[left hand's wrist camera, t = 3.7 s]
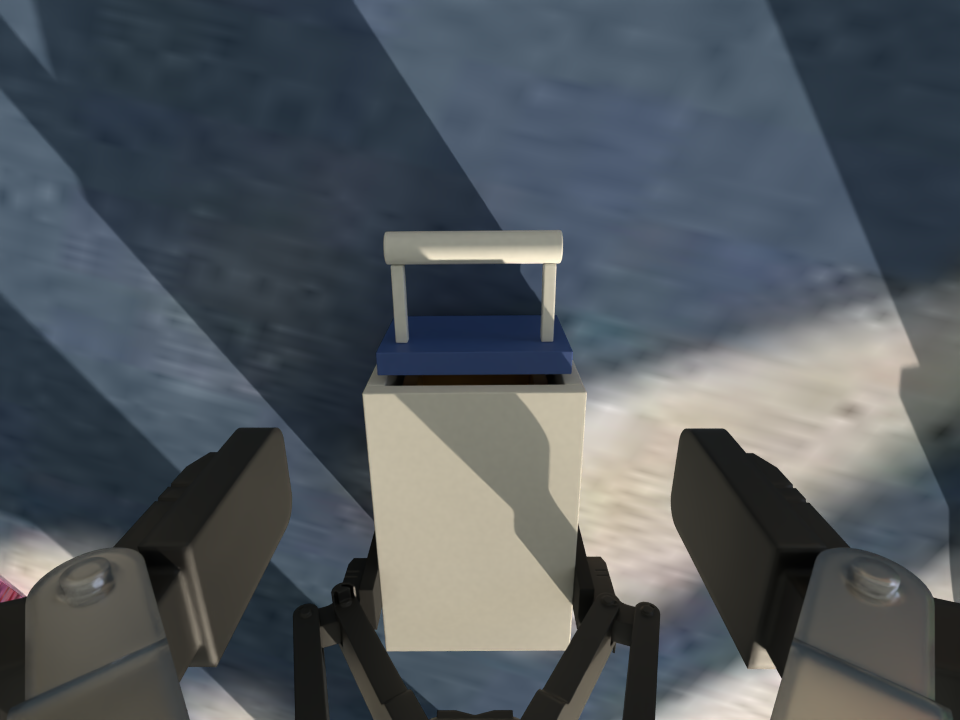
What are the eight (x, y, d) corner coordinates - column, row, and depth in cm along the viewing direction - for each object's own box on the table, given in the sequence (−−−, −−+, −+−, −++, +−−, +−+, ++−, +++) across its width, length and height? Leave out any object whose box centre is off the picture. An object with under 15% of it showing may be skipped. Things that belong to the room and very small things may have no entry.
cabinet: (388, 338, 34) (361, 393, 26) (563, 336, 34) (587, 391, 26) (404, 555, 40) (385, 651, 32) (553, 555, 40) (569, 650, 32)
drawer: (387, 219, 30) (366, 237, 25) (560, 218, 30) (579, 235, 25) (408, 531, 38) (395, 599, 32) (547, 530, 38) (559, 598, 32)
